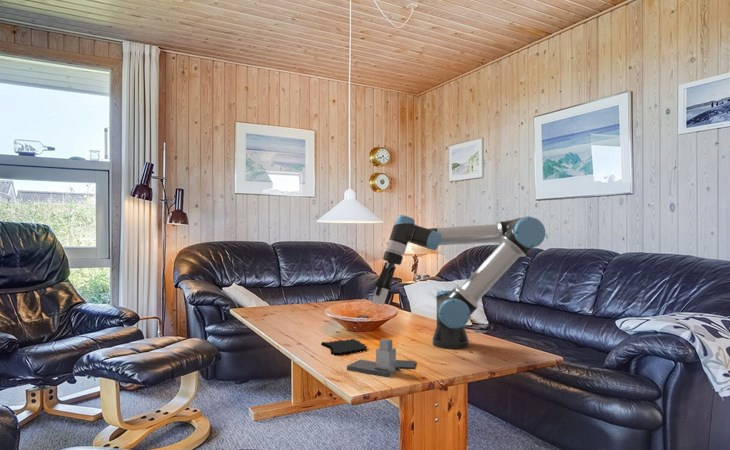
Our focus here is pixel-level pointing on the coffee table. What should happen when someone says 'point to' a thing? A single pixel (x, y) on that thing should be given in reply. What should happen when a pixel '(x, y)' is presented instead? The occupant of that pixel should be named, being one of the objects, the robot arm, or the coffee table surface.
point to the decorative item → (344, 347)
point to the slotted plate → (368, 368)
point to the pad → (405, 364)
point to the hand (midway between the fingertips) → (377, 304)
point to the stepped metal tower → (386, 356)
